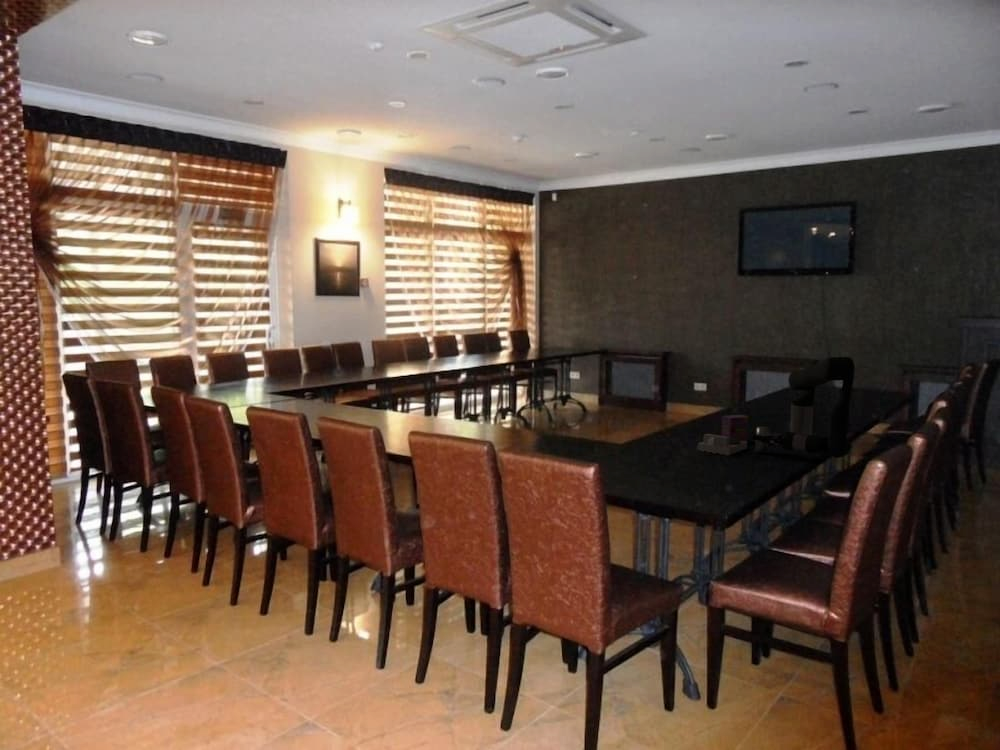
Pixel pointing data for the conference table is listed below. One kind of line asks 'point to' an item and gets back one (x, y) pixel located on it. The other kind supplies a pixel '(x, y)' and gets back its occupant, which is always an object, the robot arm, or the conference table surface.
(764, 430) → the spacer
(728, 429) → the box
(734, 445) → the scale
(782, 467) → the conference table surface
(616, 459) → the conference table surface
